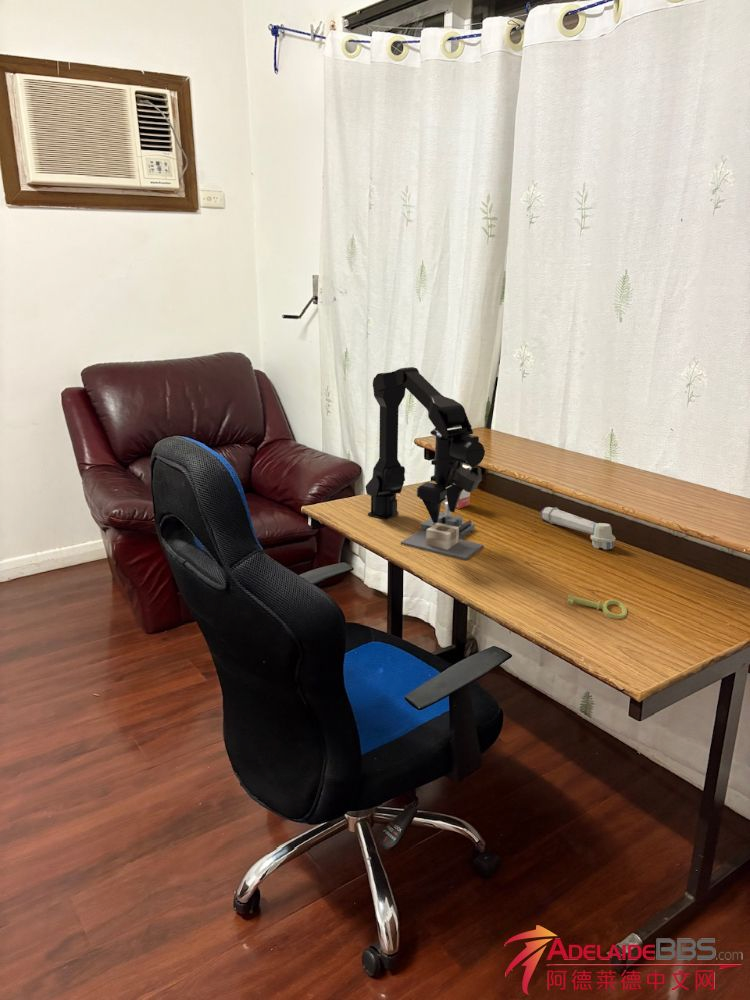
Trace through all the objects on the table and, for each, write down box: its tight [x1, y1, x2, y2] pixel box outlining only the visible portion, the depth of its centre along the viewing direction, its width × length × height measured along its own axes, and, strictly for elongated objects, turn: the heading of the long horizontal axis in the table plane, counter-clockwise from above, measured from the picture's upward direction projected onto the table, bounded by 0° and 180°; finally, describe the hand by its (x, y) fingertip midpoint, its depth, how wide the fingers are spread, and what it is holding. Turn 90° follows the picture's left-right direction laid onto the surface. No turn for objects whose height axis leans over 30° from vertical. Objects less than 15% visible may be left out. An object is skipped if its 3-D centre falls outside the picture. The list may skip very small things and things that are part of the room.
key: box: [566, 594, 628, 620], centre depth 150 cm, size 7×12×2 cm, turn 88°
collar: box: [425, 523, 459, 550], centre depth 181 cm, size 6×6×4 cm
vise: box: [419, 501, 476, 540], centre depth 192 cm, size 12×8×8 cm, turn 58°
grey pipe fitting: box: [540, 506, 616, 550], centre depth 191 cm, size 5×7×25 cm
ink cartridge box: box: [441, 464, 473, 509], centre depth 211 cm, size 9×5×15 cm, turn 43°
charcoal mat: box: [400, 529, 484, 561], centre depth 182 cm, size 18×10×1 cm, turn 58°
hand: (443, 517), depth 180 cm, fingers open, 9 cm apart
